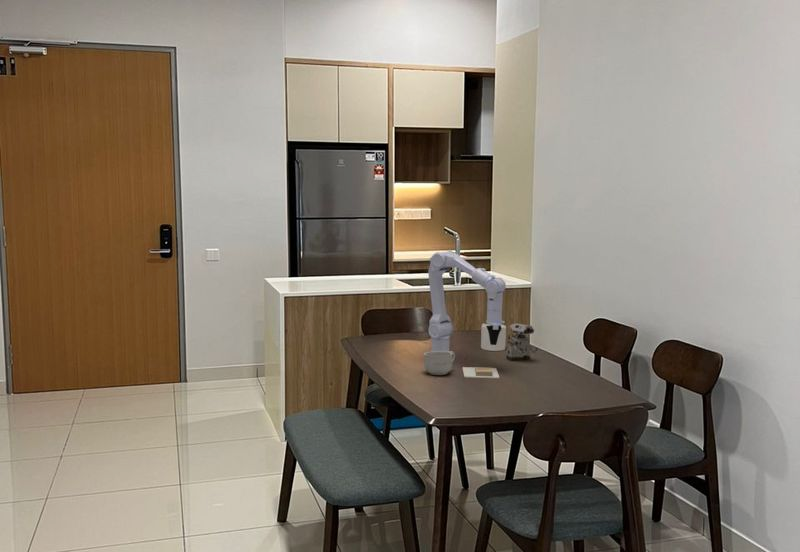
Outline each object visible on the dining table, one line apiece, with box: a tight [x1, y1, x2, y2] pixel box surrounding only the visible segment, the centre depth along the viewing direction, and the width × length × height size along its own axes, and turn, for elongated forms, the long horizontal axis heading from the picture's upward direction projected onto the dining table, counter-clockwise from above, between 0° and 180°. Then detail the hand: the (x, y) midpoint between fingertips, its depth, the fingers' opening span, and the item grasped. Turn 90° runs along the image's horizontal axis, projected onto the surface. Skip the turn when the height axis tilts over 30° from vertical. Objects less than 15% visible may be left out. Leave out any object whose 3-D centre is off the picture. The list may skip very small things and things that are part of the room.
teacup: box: [423, 350, 456, 376], centre depth 290 cm, size 14×11×8 cm
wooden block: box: [475, 366, 493, 376], centre depth 289 cm, size 2×6×7 cm
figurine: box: [505, 322, 538, 361], centre depth 313 cm, size 9×12×15 cm
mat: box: [462, 366, 500, 379], centre depth 292 cm, size 14×13×1 cm
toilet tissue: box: [480, 322, 507, 352], centre depth 335 cm, size 11×12×10 cm
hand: (493, 344), depth 296 cm, fingers closed
